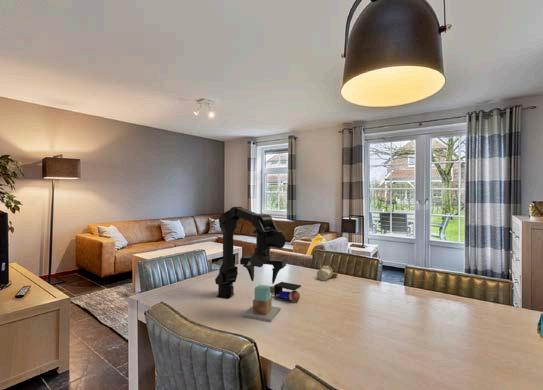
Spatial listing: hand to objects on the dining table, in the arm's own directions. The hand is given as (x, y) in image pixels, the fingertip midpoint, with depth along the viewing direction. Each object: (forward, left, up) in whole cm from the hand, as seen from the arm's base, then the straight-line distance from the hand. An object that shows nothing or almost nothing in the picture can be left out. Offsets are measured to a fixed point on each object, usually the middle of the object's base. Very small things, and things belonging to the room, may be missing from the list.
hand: (262, 282), depth 119 cm
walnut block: (0, 0, -12) cm, 12 cm away
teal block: (0, 0, -7) cm, 7 cm away
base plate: (0, 0, -13) cm, 13 cm away
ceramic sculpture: (+17, +58, -13) cm, 62 cm away
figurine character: (+4, +19, -13) cm, 24 cm away
